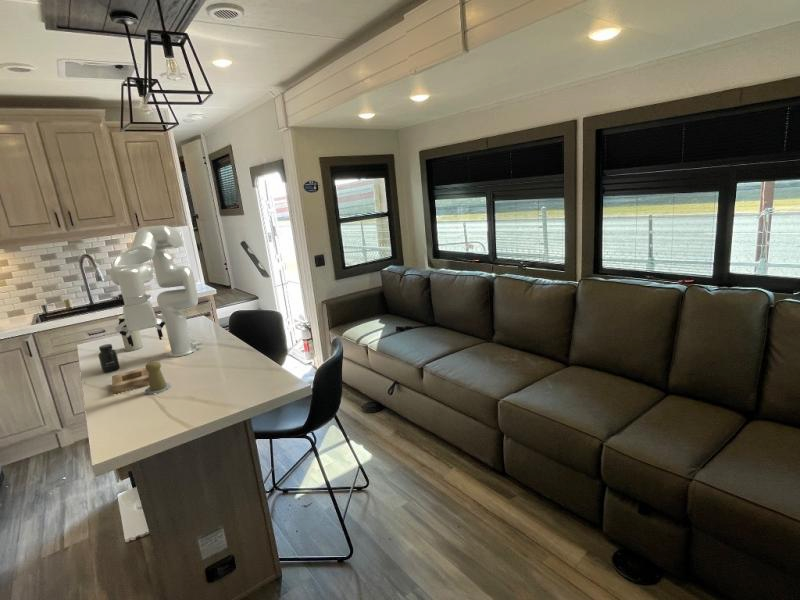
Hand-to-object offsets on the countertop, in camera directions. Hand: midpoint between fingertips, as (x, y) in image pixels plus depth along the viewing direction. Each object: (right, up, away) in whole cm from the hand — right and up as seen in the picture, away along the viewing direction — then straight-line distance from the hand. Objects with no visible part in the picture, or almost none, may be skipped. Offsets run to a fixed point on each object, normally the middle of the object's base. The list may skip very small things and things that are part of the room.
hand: (146, 342), depth 166 cm
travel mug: (-41, -9, +58) cm, 72 cm away
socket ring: (-13, -19, +12) cm, 25 cm away
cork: (+2, -19, +4) cm, 20 cm away
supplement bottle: (-34, -16, +30) cm, 48 cm away
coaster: (+2, -19, +5) cm, 20 cm away
